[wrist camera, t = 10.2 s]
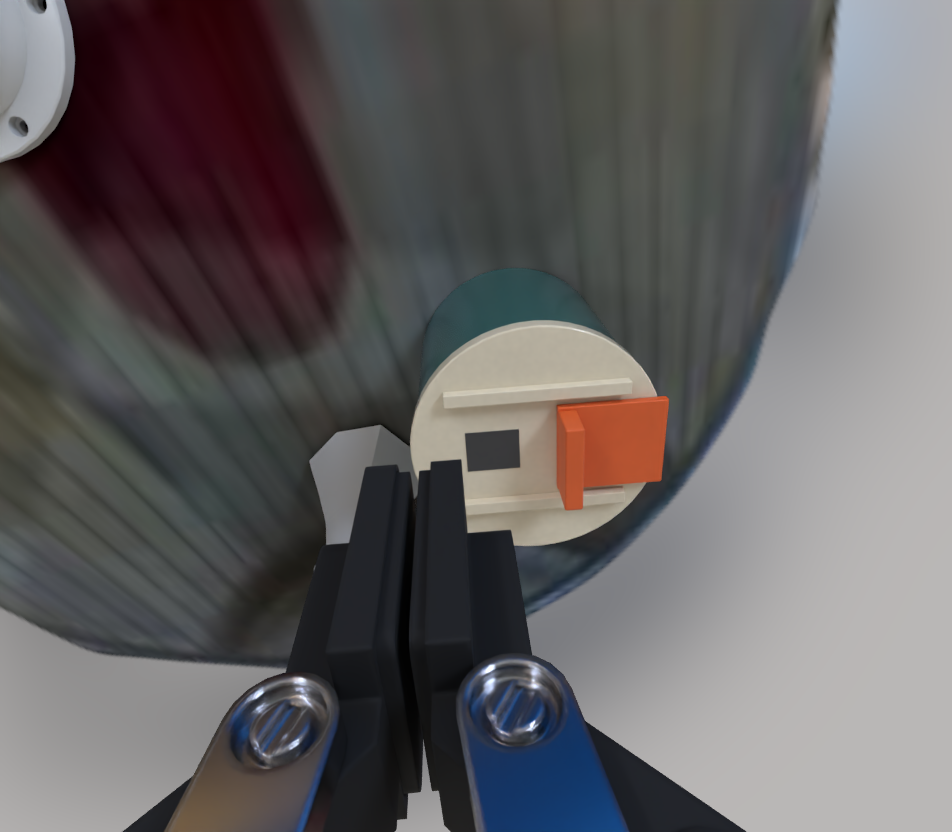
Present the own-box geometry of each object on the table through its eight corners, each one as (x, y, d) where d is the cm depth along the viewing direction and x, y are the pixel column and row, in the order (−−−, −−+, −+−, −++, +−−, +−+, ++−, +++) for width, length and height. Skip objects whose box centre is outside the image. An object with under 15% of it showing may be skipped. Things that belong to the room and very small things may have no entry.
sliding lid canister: (428, 445, 39) (423, 562, 29) (408, 271, 33) (393, 340, 23) (601, 431, 39) (656, 543, 29) (608, 256, 34) (679, 319, 24)
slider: (556, 485, 27) (565, 513, 26) (556, 404, 26) (565, 428, 24) (658, 476, 28) (675, 504, 26) (666, 395, 26) (684, 419, 24)
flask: (290, 454, 38) (244, 557, 30) (385, 405, 37) (368, 497, 28) (351, 531, 42) (327, 645, 33) (442, 488, 40) (442, 595, 31)
